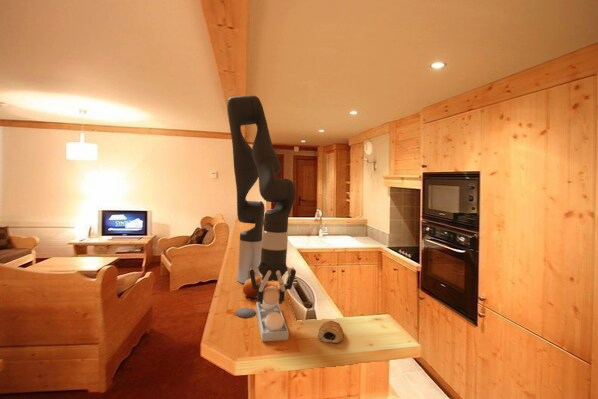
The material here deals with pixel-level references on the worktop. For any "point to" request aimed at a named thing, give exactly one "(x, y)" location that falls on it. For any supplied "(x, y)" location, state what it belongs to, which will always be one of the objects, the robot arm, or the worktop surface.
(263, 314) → the carton
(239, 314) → the mat
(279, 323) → the egg
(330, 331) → the pastry
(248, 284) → the fruit
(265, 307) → the egg
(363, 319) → the worktop surface
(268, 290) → the pale pink ball
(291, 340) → the worktop surface
